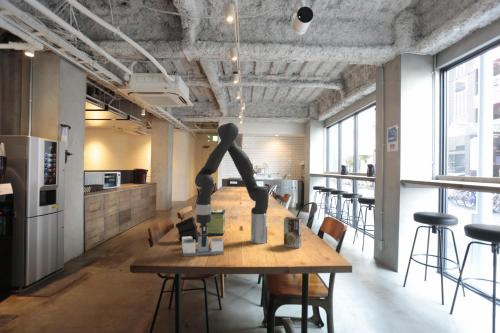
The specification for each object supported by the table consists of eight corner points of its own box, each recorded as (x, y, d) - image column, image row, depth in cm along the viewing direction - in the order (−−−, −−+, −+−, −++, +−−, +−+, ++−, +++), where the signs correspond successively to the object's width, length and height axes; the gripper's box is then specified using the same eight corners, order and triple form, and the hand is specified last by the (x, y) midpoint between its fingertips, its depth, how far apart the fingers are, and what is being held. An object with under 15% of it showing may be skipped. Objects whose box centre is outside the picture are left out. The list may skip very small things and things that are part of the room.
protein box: (223, 235, 171) (223, 212, 171) (199, 235, 171) (200, 211, 171) (225, 231, 181) (225, 209, 181) (202, 231, 181) (203, 209, 181)
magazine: (201, 240, 152) (191, 217, 153) (182, 249, 154) (172, 225, 155) (203, 239, 156) (193, 215, 157) (184, 247, 158) (174, 224, 159)
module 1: (190, 246, 146) (191, 236, 146) (192, 249, 142) (192, 237, 142) (181, 247, 144) (182, 237, 144) (183, 250, 140) (183, 238, 140)
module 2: (207, 248, 138) (207, 235, 138) (208, 251, 133) (208, 238, 134) (197, 249, 137) (198, 236, 137) (198, 251, 132) (198, 238, 132)
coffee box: (301, 245, 151) (302, 217, 151) (299, 248, 145) (299, 219, 145) (286, 243, 155) (286, 216, 155) (283, 246, 149) (283, 218, 149)
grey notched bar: (221, 249, 141) (221, 237, 141) (223, 254, 134) (223, 241, 134) (183, 252, 136) (183, 239, 136) (183, 256, 129) (183, 243, 129)
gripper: (212, 215, 129) (211, 248, 129) (209, 210, 143) (209, 240, 143) (196, 215, 127) (196, 248, 127) (195, 210, 141) (195, 240, 141)
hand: (203, 244), depth 135 cm, fingers open, 8 cm apart
